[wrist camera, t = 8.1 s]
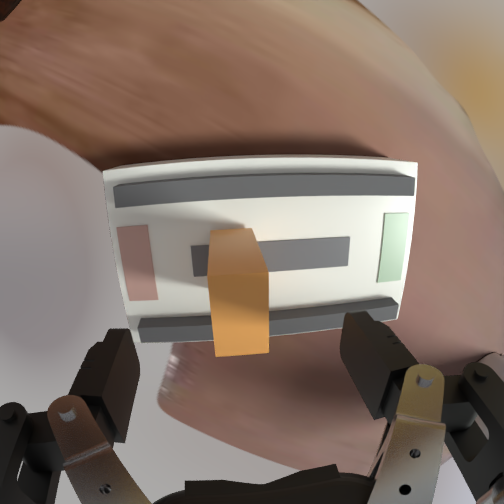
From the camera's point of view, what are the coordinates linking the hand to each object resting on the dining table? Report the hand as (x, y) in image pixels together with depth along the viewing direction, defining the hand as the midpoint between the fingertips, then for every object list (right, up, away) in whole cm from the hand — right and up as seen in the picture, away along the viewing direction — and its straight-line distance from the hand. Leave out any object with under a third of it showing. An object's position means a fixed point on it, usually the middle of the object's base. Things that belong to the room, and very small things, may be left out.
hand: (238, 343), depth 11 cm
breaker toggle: (-1, +3, +8) cm, 8 cm away
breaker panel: (+1, +4, +12) cm, 13 cm away
